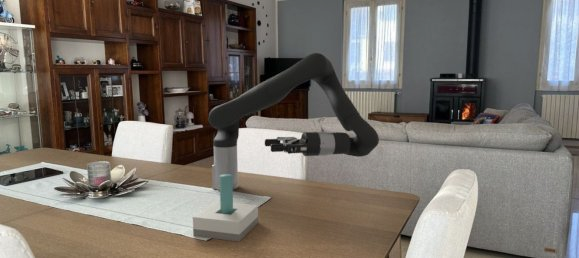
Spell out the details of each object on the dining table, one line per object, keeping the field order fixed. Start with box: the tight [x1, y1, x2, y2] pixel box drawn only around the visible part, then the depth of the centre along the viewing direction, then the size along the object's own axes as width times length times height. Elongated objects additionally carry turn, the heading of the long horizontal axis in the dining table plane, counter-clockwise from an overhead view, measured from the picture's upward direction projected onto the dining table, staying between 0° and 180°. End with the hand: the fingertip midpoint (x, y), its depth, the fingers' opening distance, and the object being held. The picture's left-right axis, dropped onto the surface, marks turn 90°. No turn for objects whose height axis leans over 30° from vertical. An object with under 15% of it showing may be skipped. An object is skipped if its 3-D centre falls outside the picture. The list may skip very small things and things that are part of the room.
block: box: [192, 201, 259, 242], centre depth 113 cm, size 14×14×6 cm
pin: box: [219, 174, 234, 215], centre depth 112 cm, size 4×4×14 cm
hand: (267, 145), depth 118 cm, fingers open, 8 cm apart
